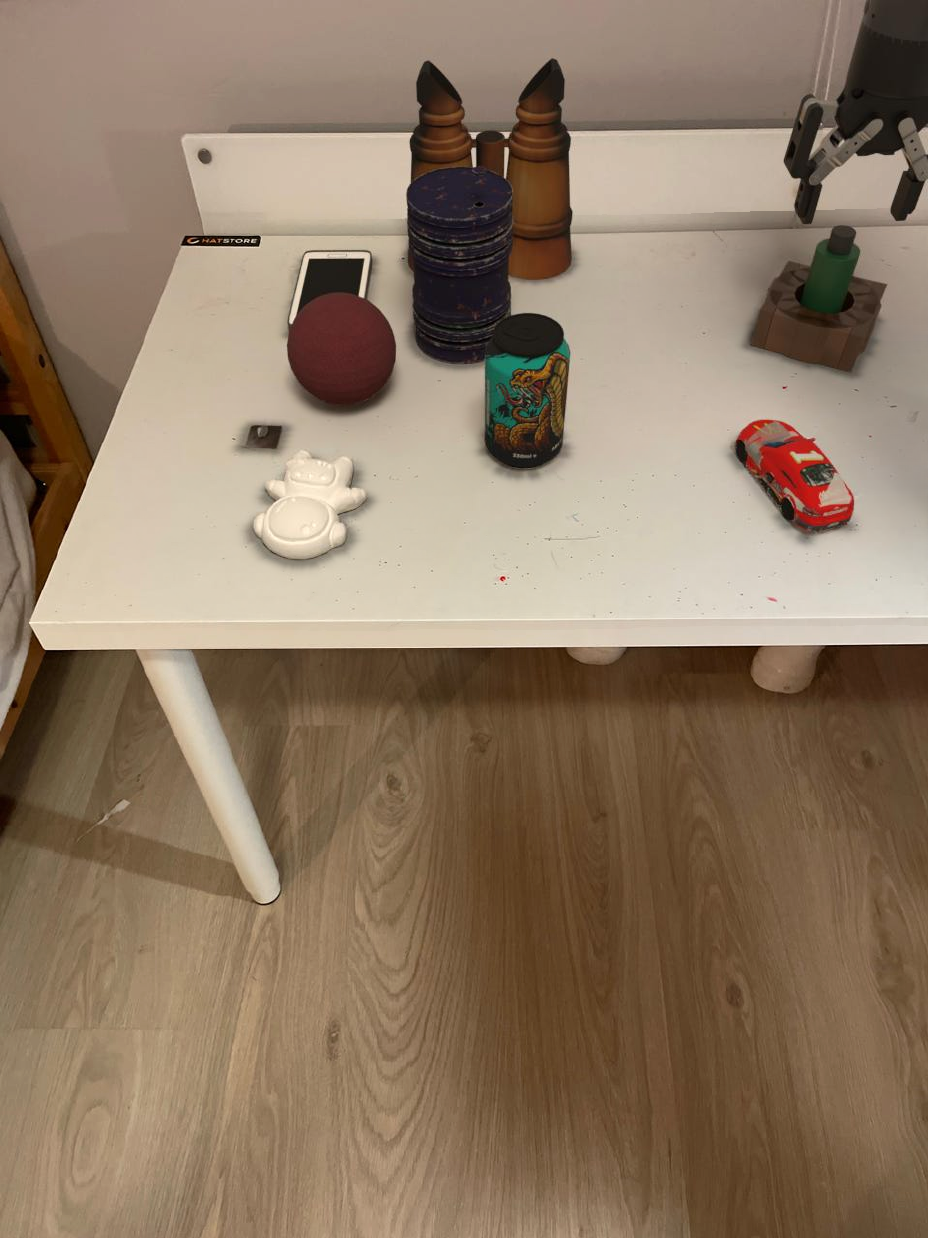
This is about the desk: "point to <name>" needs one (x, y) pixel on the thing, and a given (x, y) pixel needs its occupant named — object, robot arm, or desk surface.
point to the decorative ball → (341, 349)
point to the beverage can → (526, 390)
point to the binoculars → (530, 167)
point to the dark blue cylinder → (459, 259)
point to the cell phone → (330, 276)
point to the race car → (795, 475)
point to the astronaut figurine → (308, 507)
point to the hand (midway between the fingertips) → (850, 218)
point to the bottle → (831, 271)
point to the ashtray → (817, 321)
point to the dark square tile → (263, 436)
